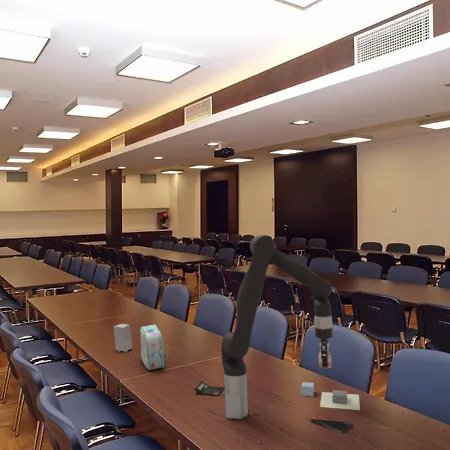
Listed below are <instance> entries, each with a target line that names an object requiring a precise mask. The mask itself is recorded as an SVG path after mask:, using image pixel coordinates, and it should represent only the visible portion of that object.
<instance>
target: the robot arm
mask: <svg viewBox="0 0 450 450" xmlns="http://www.w3.org/2000/svg"><path fill="white" fill-rule="evenodd" d="M249 249H250V252H251V253H252V255H251V260H250V264H249V267H248V269H247V271H246V273H245V275H244V277H243V278H242V279H243V280H242V282H241V283H240V286H239V289H238V293H237V298H236V303H235V304H236V306H235V307H236V324H235V328H234V331H230V332H227V333H226V334H224V335H223V337H222V339H221V342H220V351H221V364H222V367H223V374H224V375H223V376H224V377H223V378H224V380H223V381H224V383H223V384H224V412H225V416H226V419H233V420H234V419H235V420H242V419H243V418H245V417H247V416H248V414H249V413H248V411H249V410H248V383H247V382H248V381H247V379H248V377H247V372H248V371H247V364H246V363H245V361H244V359H243V358H244V357H245V356H247V354H248V351H249V349H250V344H251V339H252V338H251V337H252V332H253V327H254V322H255V319H256V315H257V311H258V307H259V305H260V300H261V297H262V293H263V289H264V285H265V280H266V277H267V276H266V274H267V270H268V268H269V265H270V264H272V265H274V266H276V267H277V268H279V269H280V270H281V271H282V272H284V273H286V274H287V275H288V276H290V277H291V278H293V279H294V280H295V281H297V282H298V283H300V284H302V286H306V287H307V288H308V289H309V290H311V295H312V301H313V306H314V307H313V308H314V309H313V310H314V321H313V322H314V336H315V337H316V338H317V339H319V350H320V351H319V352H321V359H322V367H325V368H324V369H328V368H327V367H328V360H327V359H328V355H327V354H328V353H330V352H329V351H330V350H329V349H330V340H329V339H332V338H333V337H334V332H333V328H334V327H333V317H332V306H331V302H330V300H329V296H330V295H331V294H332V292H333V286H332V284H331V283H330V281H328V280H326V279H325V278H323V277H322V276H320V275H318V274H316V273H315V272H313V271H312V269H310V268H308V267H307V266H306V265H304V264H303V263H301V262H300V261H298V260H296V259H294V258H292V257H291V256H288V255H286V254H285V253H283V252H282V251H280V250H279V249H278V248H276V247H275V241H274V239H273V238H272V237H271V236H269V235H266V234H262V235H257V236H255V237H253V238H252V239H251V240H250V243H249ZM323 354H326V356H323Z"/></svg>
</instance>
